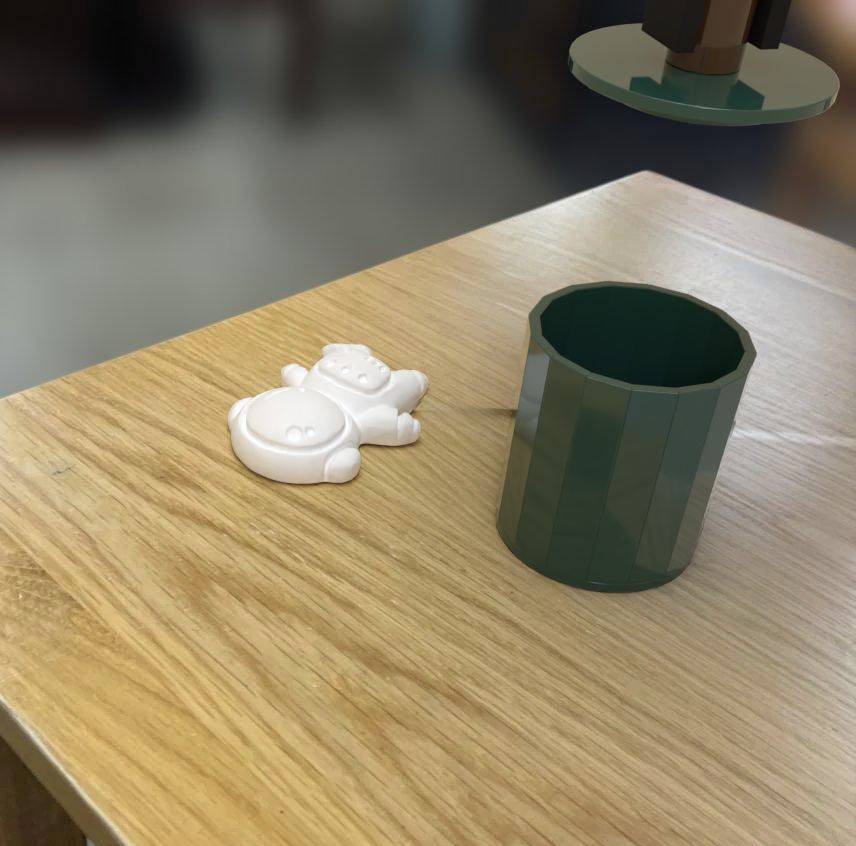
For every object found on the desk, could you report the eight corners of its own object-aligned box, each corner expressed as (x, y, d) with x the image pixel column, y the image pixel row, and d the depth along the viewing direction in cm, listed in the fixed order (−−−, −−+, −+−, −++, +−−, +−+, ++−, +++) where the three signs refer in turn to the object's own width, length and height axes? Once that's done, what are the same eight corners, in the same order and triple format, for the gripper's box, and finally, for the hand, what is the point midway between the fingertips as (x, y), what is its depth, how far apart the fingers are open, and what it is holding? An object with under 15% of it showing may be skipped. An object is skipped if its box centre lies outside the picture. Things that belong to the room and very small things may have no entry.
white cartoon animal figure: (465, 416, 65) (472, 367, 63) (306, 508, 58) (309, 456, 57) (347, 352, 70) (350, 305, 68) (186, 431, 63) (185, 380, 61)
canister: (679, 478, 62) (732, 290, 55) (710, 601, 55) (776, 401, 48) (492, 462, 62) (524, 273, 56) (498, 583, 55) (535, 382, 48)
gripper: (1089, -846, 36) (835, 4, 50) (591, -928, 32) (474, 15, 47) (1313, -914, 30) (953, 64, 45) (740, -1023, 26) (554, 82, 41)
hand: (709, 38), depth 46 cm, fingers closed on lid, 3 cm apart
